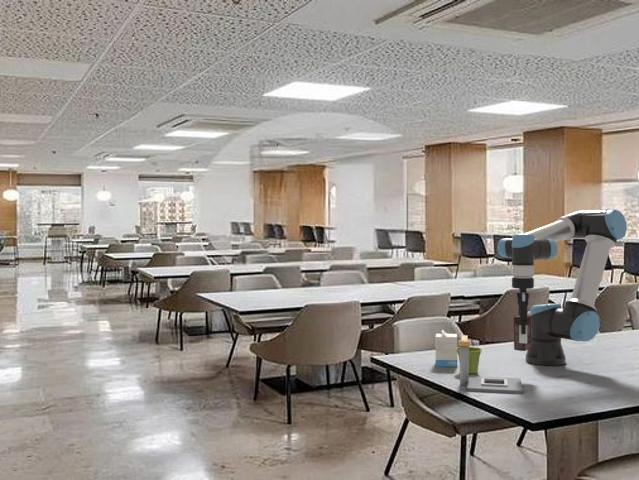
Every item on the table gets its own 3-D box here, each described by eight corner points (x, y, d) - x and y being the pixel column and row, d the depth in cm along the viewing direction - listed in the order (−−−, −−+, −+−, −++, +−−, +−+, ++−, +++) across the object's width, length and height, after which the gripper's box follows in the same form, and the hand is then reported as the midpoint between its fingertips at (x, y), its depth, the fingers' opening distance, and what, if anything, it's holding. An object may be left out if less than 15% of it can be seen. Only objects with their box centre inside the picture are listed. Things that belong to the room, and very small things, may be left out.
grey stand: (520, 381, 240) (520, 343, 239) (522, 393, 222) (522, 353, 222) (460, 378, 245) (460, 341, 244) (458, 390, 227) (458, 351, 227)
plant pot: (467, 376, 248) (467, 352, 248) (451, 371, 257) (450, 348, 256) (487, 373, 253) (487, 349, 252) (470, 368, 261) (470, 345, 261)
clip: (459, 339, 247) (459, 335, 247) (470, 339, 246) (470, 335, 246) (458, 346, 234) (458, 341, 234) (470, 346, 233) (470, 342, 233)
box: (519, 347, 248) (520, 314, 247) (531, 349, 245) (532, 315, 244) (512, 350, 243) (513, 316, 243) (524, 351, 240) (525, 317, 240)
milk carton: (457, 367, 263) (457, 332, 263) (435, 366, 265) (435, 332, 265) (457, 362, 272) (457, 329, 272) (436, 362, 274) (435, 328, 273)
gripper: (511, 274, 254) (510, 336, 254) (512, 279, 235) (512, 345, 235) (532, 275, 252) (532, 337, 253) (535, 279, 233) (535, 346, 233)
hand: (522, 341), depth 244 cm, fingers closed on box, 7 cm apart
